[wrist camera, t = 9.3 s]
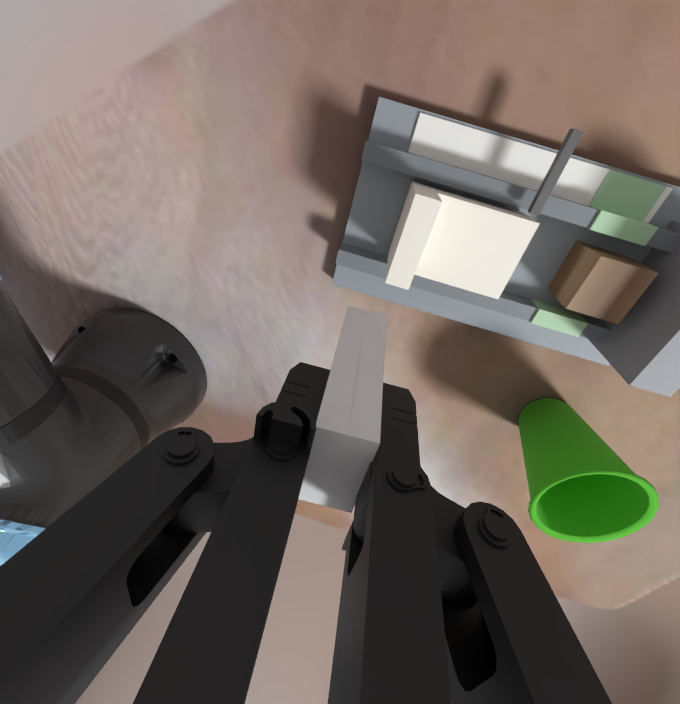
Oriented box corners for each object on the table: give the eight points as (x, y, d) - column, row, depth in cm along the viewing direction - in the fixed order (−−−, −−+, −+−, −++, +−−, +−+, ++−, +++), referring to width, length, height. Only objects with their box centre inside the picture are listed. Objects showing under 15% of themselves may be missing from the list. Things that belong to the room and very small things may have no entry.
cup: (494, 389, 36) (525, 477, 27) (594, 374, 34) (667, 465, 24) (502, 450, 40) (531, 545, 31) (592, 441, 38) (653, 541, 29)
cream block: (388, 252, 29) (385, 283, 23) (440, 95, 23) (453, 82, 17) (488, 282, 29) (510, 319, 23) (565, 132, 23) (620, 132, 17)
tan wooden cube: (546, 288, 29) (565, 308, 26) (576, 240, 27) (601, 256, 23) (593, 301, 29) (618, 324, 26) (626, 255, 27) (658, 273, 23)
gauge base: (334, 279, 33) (316, 319, 26) (379, 98, 25) (371, 85, 18) (602, 358, 33) (656, 418, 26) (729, 202, 25) (852, 229, 18)
